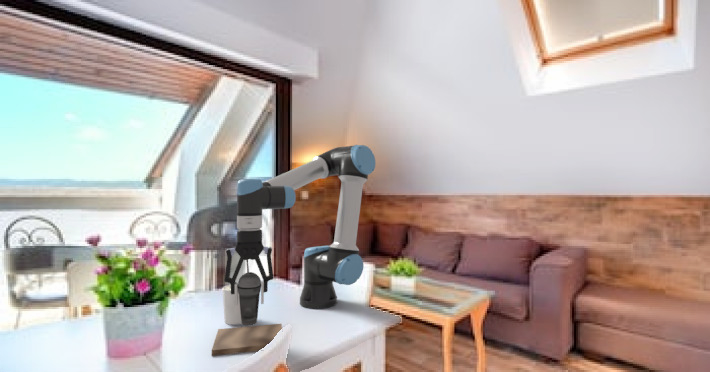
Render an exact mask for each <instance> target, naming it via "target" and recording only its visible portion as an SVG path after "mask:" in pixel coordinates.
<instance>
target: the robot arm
mask: <svg viewBox="0 0 710 372" xmlns="http://www.w3.org/2000/svg"><path fill="white" fill-rule="evenodd" d="M375 168H376V156H375V154H374V152H373V151H372V150H371V148H370V147H369V146H367V145H364V144H360V145H359V144H354V145H348V146H337V147H334V148H332V149H329V150H327V151H325V152H322V153H321V154H319V155H316V156H315V157H313V158H312V160H311V161H309V162H306V163H303V164H302V165H299V166H298V167H295V168H293V169H290V170H289V171H287V172H283V173H281V174H279V175H277V176H274V177H272V178H270V179H267V180H265V181H262V180H261V179H251V178H250V179H249V178H248V179H247V178H245V179H240V180H238V181H237V186H236V228H237V231H236V246H235V247H232V248H227V249H226V251H225V252H226V257H227V258H226V267H225V275H224V279H223V280H224V282H225V283H229V285H230V284H231V294H235V306H237V304H238V287H237V286H238V281H237V277H238V275H239V272H240V270H241V267H242V265H243V263H244V261H246V260H248V261H249V260H250V261H251V260H252V261H253V260H254V261H255V264H256V265H257V269H258V270H259V274H260V276H261V278H262V280H261V290H260V304H261V305H263V304H264V302H265V301H264V299H265V298H264V295H265V294H264V293H268V286H269V285H268V282H269V281H271V280H274V271H273V264H272V263H273V262H272V256H271V255H272V252H273V247H271V246H269V247H268V246H264V243H263V230H262V228H263V210H279V209H280V210H281V209H282V210H285V209H291V208H292V207H293V206H295V205H294V204H296V199H297V198H296V192H295V191H296V190H298V189H300V188H302V187H304V186H306V185H308V184H310V183H312V182H314V181H316V180H319V179H322V180H323V179H327V178H328V177H332V176H333V177H335V176H337V177H338V179H339V180H340V182H341V185H340V193H339V199H338V208H337V213H336V214H337V215H336V222H335V229H334V230H335V231H334V236H333V237H334V239H333V242H332V243H331V244H330V245H321V246H319V245H317V246H311V247H307V248H305V250H304V255H303V279H304V281H303V287H302V289H301V290H302V291H301V294H300V297H299V305H300V306H301V307H303V308H308V309H327V308H331V307H333V306H335V305H337V303H338V296H337V294H336V290H335V287H334V283H337V284H339V285H345V286H350V285H353V284H355V283H356V282H357V281H358V280H359V279H360V277H361V276H362V274H363V270H364V261H363V258H362V257H361V255H360V253H359V252H360V249H359V247H358V246H357V237H358V230H359V229H358V227H359V219H360V212H361V206H362V205H361V204H362V196H363V187H364V185H365V183H366V182H367V181H368V178H369V175H371V174H372V173H373V171H375ZM263 251H264V254H265V255H266V261H267V262H266V263H267V268H268V275H267V274H266V271H265V269H264V266H263V263H262V260H261V258H260V255H261V254H262V252H263ZM235 253H237V254H238V256H239V260H238V261H237V264H236V267H235V270H234V272H233V275H232V277H230V276H231V269H232V261H233V256H234V255H235Z"/></svg>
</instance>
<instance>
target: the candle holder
mask: <svg viewBox="0 0 710 372" xmlns="http://www.w3.org/2000/svg"><path fill="white" fill-rule="evenodd" d="M221 289H222V299H223V301H222V302H223V314H224V319H223V320H224V323H225V324H227V325H231V326H235V325H236V326H237V325H242V321H241V312H240V300H239V293H238V304H237V306H235V294H231V284H230V283H229V284H226V285H224V286H223V287H222V288H221Z"/></svg>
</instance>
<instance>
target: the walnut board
mask: <svg viewBox="0 0 710 372" xmlns="http://www.w3.org/2000/svg"><path fill="white" fill-rule="evenodd" d="M281 329H282V330H283V325H282V323H275V324H274V323H273V324H264V325H251V326H240V327H239V326H238V327H229V328H218V329H217V333H216V336H215V339H214V341H213V345H212V347H211V356H219V355H220V356H222V355H230V354H232V355H233V354H239V353H240V354H241V353H250V352H252V353H253V352H259V351H258V350H260V349H262V348H264V347H265V346H266V345H267V344H269V343H270V342H271V341H272V340H273V339H274V337H275V336H276V335H277V333H278V332H279V331H280V330H281Z"/></svg>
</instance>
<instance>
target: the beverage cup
mask: <svg viewBox="0 0 710 372" xmlns="http://www.w3.org/2000/svg"><path fill="white" fill-rule="evenodd" d="M245 261H246V272H245V273H243V274H242V275H241V276H240V277H239V279H238V281H237V282H238V286H237V287H238V293H239V300H240V312H241V321H242V324H241V325H242V326H243V327H249V326H256V324H257V323H258V313H259V306H260V305H259V304H260V296H261V281H262V280H261V278H260V277H259V275H258V274H256V273H255V272H252V271H250V270H249V269H250V268H249V267H250V266H249V259H248V260H245Z"/></svg>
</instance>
